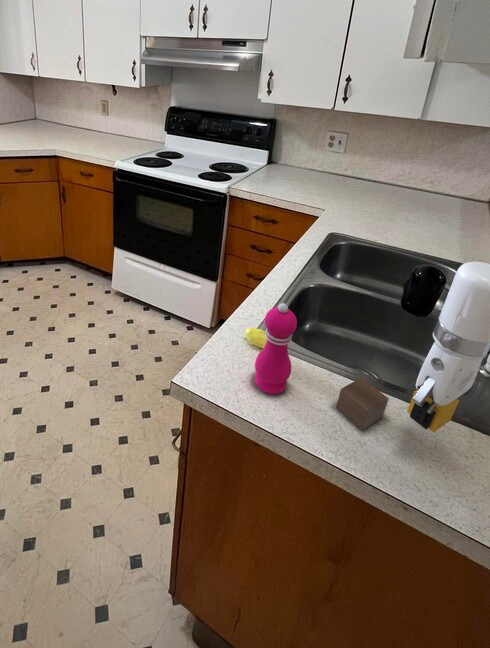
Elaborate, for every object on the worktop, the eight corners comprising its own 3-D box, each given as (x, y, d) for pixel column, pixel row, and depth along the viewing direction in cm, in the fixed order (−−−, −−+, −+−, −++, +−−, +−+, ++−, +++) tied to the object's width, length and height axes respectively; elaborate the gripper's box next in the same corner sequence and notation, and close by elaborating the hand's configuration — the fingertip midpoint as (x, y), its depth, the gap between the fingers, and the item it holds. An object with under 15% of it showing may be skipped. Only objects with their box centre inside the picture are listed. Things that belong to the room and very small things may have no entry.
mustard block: (422, 400, 79) (430, 380, 77) (450, 420, 75) (459, 400, 73) (406, 411, 77) (414, 391, 75) (434, 432, 73) (443, 412, 71)
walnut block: (356, 395, 86) (361, 377, 84) (382, 417, 81) (389, 398, 79) (335, 407, 83) (340, 388, 81) (362, 430, 78) (368, 411, 76)
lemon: (269, 357, 95) (272, 344, 93) (240, 340, 100) (242, 327, 98) (279, 348, 98) (282, 335, 96) (250, 332, 103) (252, 319, 101)
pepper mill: (245, 376, 90) (256, 298, 81) (272, 366, 93) (285, 289, 84) (267, 401, 84) (281, 320, 75) (295, 389, 87) (312, 309, 78)
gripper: (457, 369, 61) (420, 454, 69) (514, 333, 69) (475, 412, 77) (408, 338, 67) (379, 419, 75) (466, 308, 75) (434, 384, 83)
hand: (428, 415), depth 76 cm, fingers closed on mustard block, 5 cm apart
